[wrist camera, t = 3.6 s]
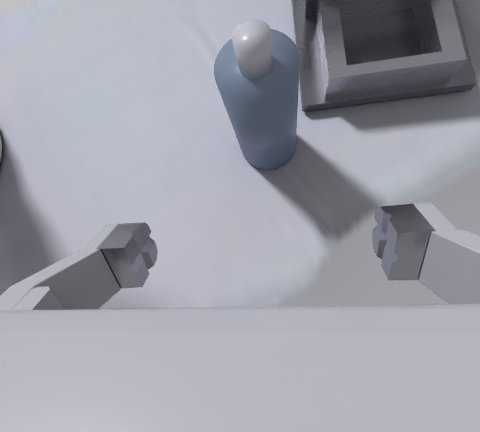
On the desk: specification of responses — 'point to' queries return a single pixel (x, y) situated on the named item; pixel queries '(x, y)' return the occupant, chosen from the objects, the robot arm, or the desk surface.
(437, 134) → the desk surface
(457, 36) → the gray recessed holder
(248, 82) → the bottle
